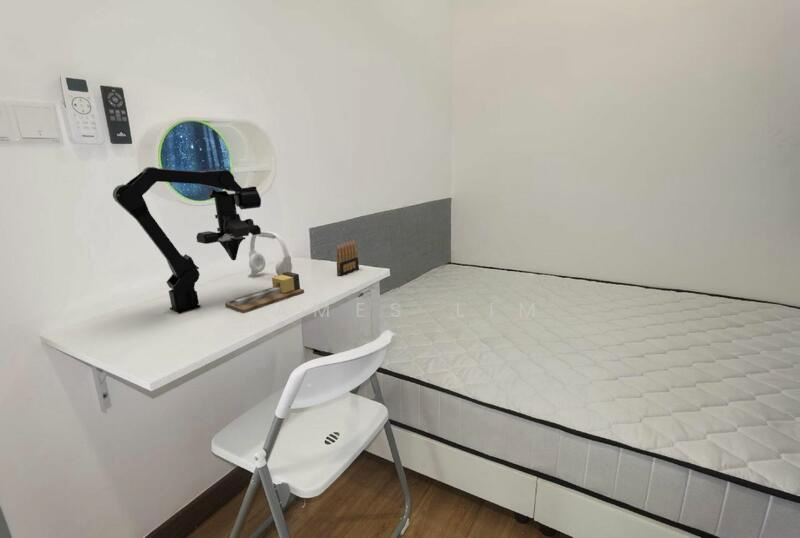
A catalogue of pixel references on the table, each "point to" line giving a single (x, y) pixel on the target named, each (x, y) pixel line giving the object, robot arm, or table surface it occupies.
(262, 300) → the rail board
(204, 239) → the robot arm
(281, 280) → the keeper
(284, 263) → the headset
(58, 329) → the table surface
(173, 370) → the table surface
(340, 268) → the ammunition clip
